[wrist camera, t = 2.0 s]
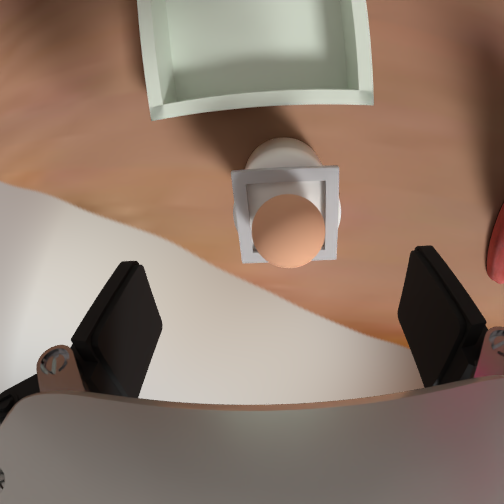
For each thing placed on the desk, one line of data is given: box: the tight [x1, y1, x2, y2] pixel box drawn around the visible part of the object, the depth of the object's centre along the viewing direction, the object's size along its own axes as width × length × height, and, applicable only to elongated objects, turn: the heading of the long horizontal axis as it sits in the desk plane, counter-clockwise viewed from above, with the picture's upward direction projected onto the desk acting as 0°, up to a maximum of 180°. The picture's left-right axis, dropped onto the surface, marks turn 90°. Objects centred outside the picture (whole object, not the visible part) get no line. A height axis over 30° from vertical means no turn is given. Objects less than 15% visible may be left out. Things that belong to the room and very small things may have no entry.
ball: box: [252, 194, 325, 268], centre depth 13 cm, size 3×3×3 cm
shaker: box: [231, 137, 341, 263], centre depth 17 cm, size 5×5×7 cm
